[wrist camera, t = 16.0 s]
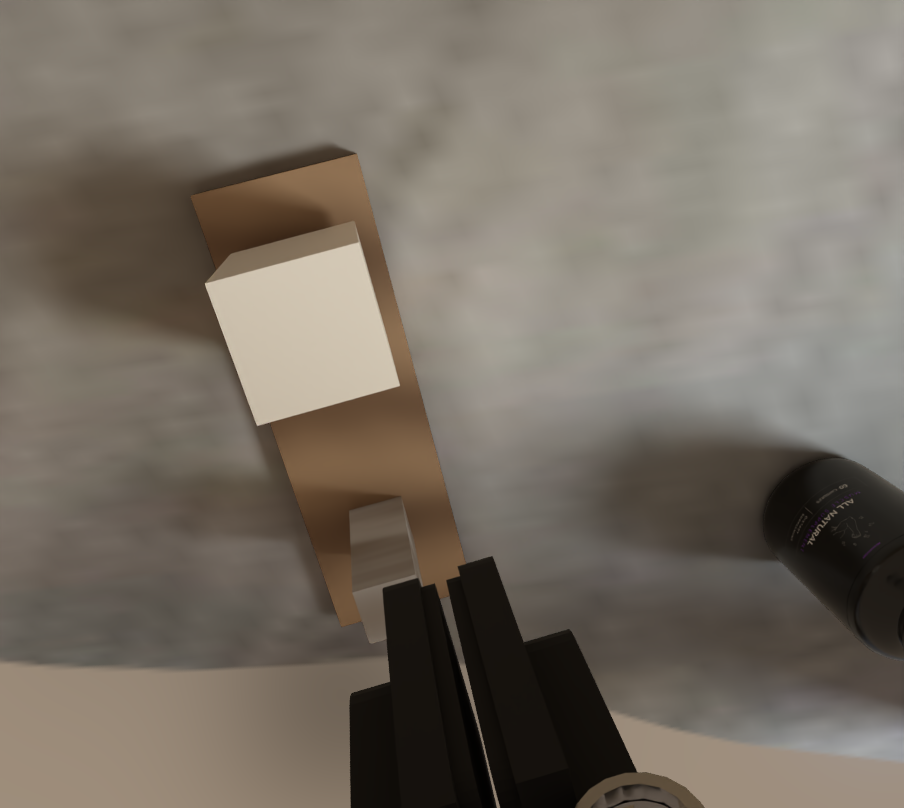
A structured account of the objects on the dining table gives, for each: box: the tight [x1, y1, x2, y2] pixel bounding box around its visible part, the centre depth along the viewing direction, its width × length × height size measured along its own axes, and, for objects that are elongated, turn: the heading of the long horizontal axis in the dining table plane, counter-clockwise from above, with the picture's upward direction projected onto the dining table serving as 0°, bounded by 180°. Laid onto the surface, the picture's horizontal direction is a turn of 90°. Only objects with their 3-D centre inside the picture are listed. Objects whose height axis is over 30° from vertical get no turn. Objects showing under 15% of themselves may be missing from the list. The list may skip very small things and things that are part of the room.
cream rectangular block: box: [205, 221, 400, 426], centre depth 29 cm, size 5×5×7 cm
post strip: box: [190, 154, 466, 644], centre depth 32 cm, size 22×7×8 cm, turn 13°
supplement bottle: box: [763, 458, 904, 661], centre depth 36 cm, size 7×7×12 cm
